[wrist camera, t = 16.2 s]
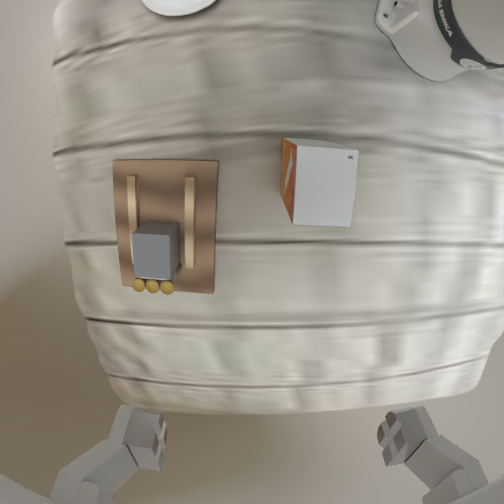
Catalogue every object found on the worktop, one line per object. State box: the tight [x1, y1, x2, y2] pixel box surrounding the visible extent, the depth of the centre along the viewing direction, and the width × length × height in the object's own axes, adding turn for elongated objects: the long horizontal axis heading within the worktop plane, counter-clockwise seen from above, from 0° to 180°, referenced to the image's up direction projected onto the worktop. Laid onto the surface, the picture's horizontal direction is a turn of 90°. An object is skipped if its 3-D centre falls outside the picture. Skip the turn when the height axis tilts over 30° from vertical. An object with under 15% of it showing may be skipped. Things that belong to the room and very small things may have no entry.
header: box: [113, 159, 218, 295], centre depth 40 cm, size 20×15×8 cm
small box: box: [281, 138, 359, 227], centre depth 34 cm, size 8×6×13 cm
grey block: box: [132, 221, 180, 280], centre depth 40 cm, size 6×5×6 cm
